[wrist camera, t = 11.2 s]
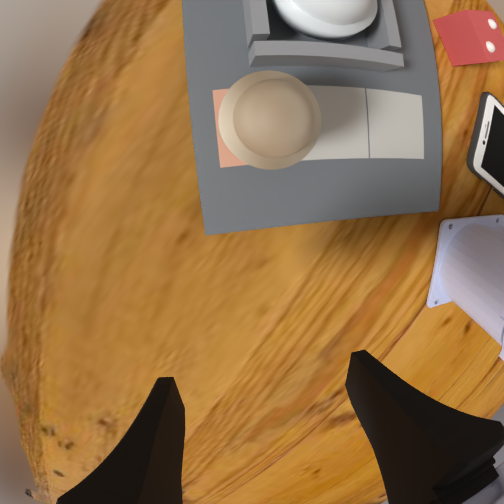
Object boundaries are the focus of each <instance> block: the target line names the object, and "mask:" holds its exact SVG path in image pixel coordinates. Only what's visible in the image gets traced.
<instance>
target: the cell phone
mask: <svg viewBox="0 0 504 504" xmlns="http://www.w3.org/2000/svg"><path fill="white" fill-rule="evenodd" d="M467 166H468V168H469V169H470V170H471V172H473V173H474V174H475V175H476V176H477V177H479V178H480V179H483V180H484V181H485V182H487V183H488V184H489V185H490V186H491V187H493V188H494V191H496V192H497V193H498V194H499V195H500V196H501V197H502V198H503V199H504V106H503V105H502V104H501V102H500V101H499V100H498V99H497V98H496V97H495V96H493V95H492V94H491V93H489V92H483V93H482V95H481V98H480V102H479V108H478V113H477V118H476V122H475V127H474V131H473V135H472V139H471V143H470V147H469V151H468V155H467Z"/></svg>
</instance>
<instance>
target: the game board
mask: <svg viewBox="0 0 504 504" xmlns="http://www.w3.org/2000/svg"><path fill="white" fill-rule="evenodd" d="M182 9H183V28H184V44H185V58H186V71H187V83H188V94H189V104H190V115H191V124H192V134H193V143H194V152H195V160H196V168H197V176H198V184H199V192H200V200H201V207H202V214H203V221H204V228H205V235H214V234H222V233H230V232H238V231H246V230H255V229H263V228H272V227H280V226H289V225H298V224H308V223H317V222H326V221H336V220H346V219H356V218H366V217H377V216H387V215H398V214H410V213H421V212H433V211H439V204H440V190H441V169H442V128H441V107H440V94H439V84H438V75H437V67H436V60H435V53H434V47H433V41H432V36H431V31H430V26H429V22H428V17H427V13H426V9H425V5H424V1H423V0H377V14H376V16H375V19H374V20H373V22H372V23H371V24H370V25H369V26H368V27H366V28H365V29H363V30H362V31H360V32H358V33H357V34H355V35H353V36H351V37H350V38H347V39H344V40H340V41H323V40H317V39H313V38H310V37H307V36H305V35H303V34H301V33H299V32H297V31H296V30H294V29H293V28H291V27H290V26H288V25H287V24H286V23H285V22H284V21H283V20H282V19H281V18H280V17H279V15H278V14H277V13H276V11H275V9H274V8H273V5H272V3H271V0H182ZM266 70H271V71H280V72H283V73H287V74H289V75H292V76H294V77H295V78H297V79H299V80H300V81H301V82H303V83H304V84H305V85H306V86H307V87H308V88H309V89H310V90H311V92H312V93H313V95H314V96H315V98H316V100H317V102H318V105H319V108H320V112H321V131H320V134H319V138H318V140H317V142H316V144H315V146H314V147H313V149H312V150H311V151H310V153H309V154H308V155H307V156H306V157H305V158H303V159H302V160H301V161H299V162H298V163H296V164H294V165H292V166H289V167H286V168H282V169H276V170H267V169H260V168H256V167H253V166H251V165H248V164H246V163H244V162H243V161H241V160H240V159H238V158H237V157H236V156H235V155H234V154H233V153H232V152H231V151H230V150H229V149H228V147H227V146H226V145H225V144H224V142H223V141H222V139H221V136H220V133H219V129H218V118H219V109H220V106H221V103H222V100H223V98H224V96H225V94H226V93H227V91H228V90H229V89H230V87H231V86H232V85H233V84H234V83H235V82H237V81H238V80H239V79H241V78H243V77H244V76H246V75H249V74H251V73H254V72H258V71H266Z"/></svg>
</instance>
